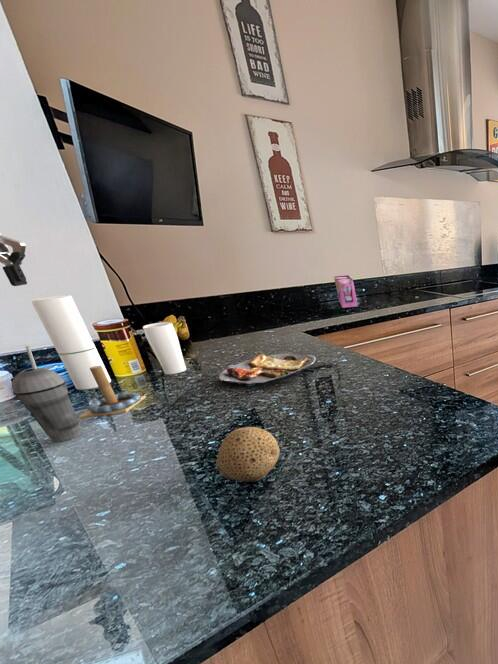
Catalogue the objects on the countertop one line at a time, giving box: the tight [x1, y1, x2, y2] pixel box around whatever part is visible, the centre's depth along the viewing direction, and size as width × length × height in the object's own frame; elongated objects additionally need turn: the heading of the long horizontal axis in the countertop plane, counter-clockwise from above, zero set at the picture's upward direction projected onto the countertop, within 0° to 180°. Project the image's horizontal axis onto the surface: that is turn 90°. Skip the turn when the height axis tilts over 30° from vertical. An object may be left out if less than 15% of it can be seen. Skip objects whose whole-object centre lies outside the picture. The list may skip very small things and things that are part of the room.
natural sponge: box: [215, 426, 281, 483], centre depth 66 cm, size 9×9×10 cm
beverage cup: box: [11, 345, 83, 443], centre depth 80 cm, size 7×7×20 cm
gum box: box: [333, 274, 359, 309], centre depth 209 cm, size 24×8×14 cm, turn 27°
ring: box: [88, 392, 141, 413], centre depth 95 cm, size 9×9×1 cm
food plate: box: [217, 352, 317, 386], centre depth 116 cm, size 25×23×4 cm
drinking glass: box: [142, 321, 187, 375], centre depth 116 cm, size 7×7×15 cm
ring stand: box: [78, 366, 147, 419], centre depth 94 cm, size 9×9×11 cm
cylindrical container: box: [30, 294, 112, 391], centre depth 106 cm, size 7×7×25 cm
